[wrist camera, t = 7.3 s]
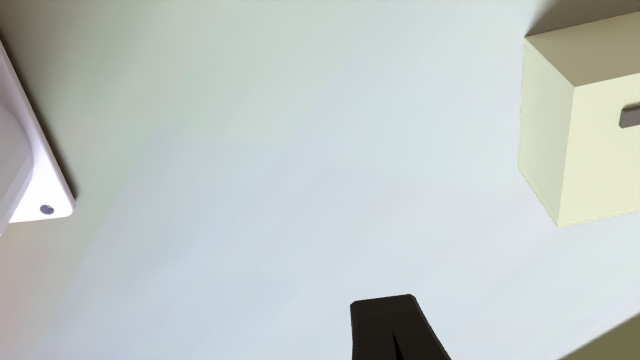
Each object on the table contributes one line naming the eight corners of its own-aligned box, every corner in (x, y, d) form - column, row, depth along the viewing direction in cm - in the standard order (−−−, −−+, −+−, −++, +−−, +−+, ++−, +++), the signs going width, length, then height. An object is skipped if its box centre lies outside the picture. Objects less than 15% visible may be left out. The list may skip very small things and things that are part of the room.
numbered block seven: (515, 164, 23) (559, 231, 19) (521, 34, 19) (577, 90, 16) (655, 134, 22) (724, 198, 19) (689, -3, 19) (783, 45, 15)
